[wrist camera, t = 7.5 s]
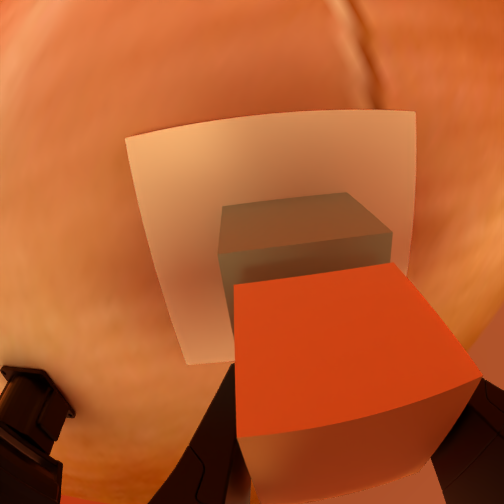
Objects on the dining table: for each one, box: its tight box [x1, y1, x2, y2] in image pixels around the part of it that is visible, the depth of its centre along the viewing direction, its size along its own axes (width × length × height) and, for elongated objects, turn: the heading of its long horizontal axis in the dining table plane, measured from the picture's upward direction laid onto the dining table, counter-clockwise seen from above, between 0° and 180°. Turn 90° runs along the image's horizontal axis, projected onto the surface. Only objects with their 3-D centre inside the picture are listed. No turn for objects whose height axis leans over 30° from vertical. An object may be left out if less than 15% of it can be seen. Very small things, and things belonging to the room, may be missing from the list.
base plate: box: [125, 109, 416, 365], centre depth 16 cm, size 14×14×1 cm
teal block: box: [217, 192, 393, 337], centre depth 14 cm, size 6×6×5 cm
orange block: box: [234, 262, 483, 504], centre depth 8 cm, size 5×5×5 cm
